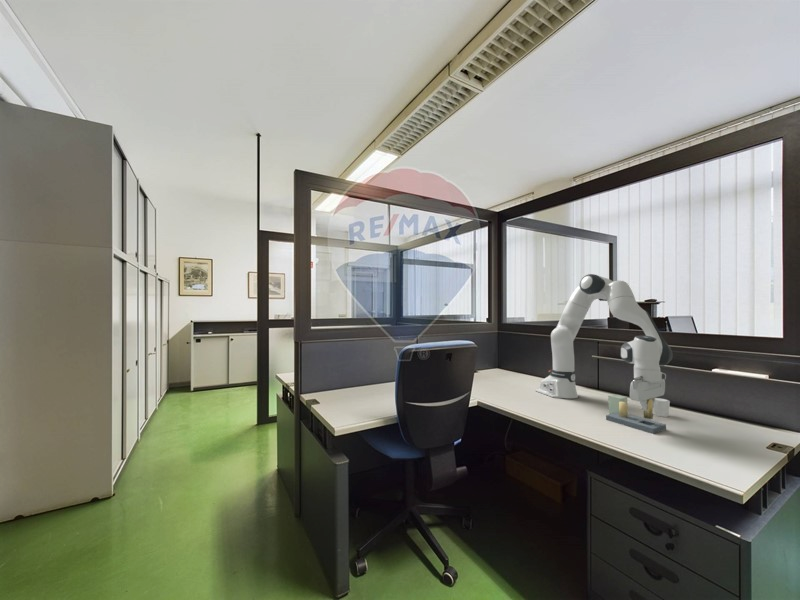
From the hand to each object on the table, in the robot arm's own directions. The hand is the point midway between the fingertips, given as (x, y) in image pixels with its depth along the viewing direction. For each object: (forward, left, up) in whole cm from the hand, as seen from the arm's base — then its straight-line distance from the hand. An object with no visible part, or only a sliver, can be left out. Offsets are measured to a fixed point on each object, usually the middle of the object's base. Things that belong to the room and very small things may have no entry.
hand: (647, 408), depth 133 cm
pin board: (-5, 0, -8) cm, 9 cm away
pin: (0, 0, -4) cm, 4 cm away
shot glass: (-6, +24, -8) cm, 26 cm away
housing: (-16, +8, -8) cm, 19 cm away
